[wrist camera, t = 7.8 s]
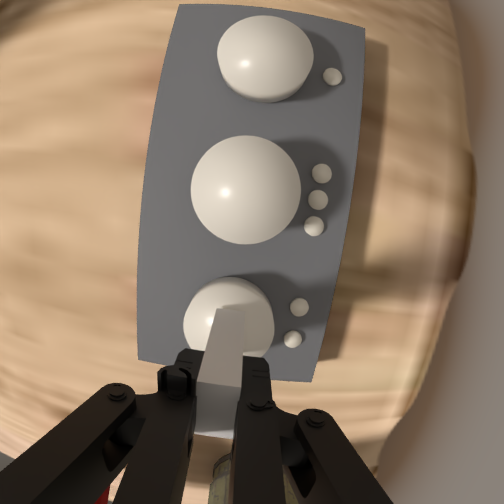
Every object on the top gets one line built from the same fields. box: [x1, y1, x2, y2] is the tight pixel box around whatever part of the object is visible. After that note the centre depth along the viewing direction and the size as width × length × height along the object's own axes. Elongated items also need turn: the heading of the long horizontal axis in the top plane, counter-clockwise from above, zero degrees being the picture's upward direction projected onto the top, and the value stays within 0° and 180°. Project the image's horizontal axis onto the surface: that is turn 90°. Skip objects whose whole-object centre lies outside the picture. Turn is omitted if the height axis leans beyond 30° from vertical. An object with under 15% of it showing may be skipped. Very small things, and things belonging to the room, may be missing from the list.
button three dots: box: [191, 135, 301, 244], centre depth 15 cm, size 5×5×4 cm
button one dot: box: [217, 15, 314, 103], centre depth 15 cm, size 5×5×4 cm
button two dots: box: [183, 277, 274, 357], centre depth 18 cm, size 5×5×4 cm
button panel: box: [137, 4, 365, 382], centre depth 18 cm, size 12×24×3 cm, turn 172°
